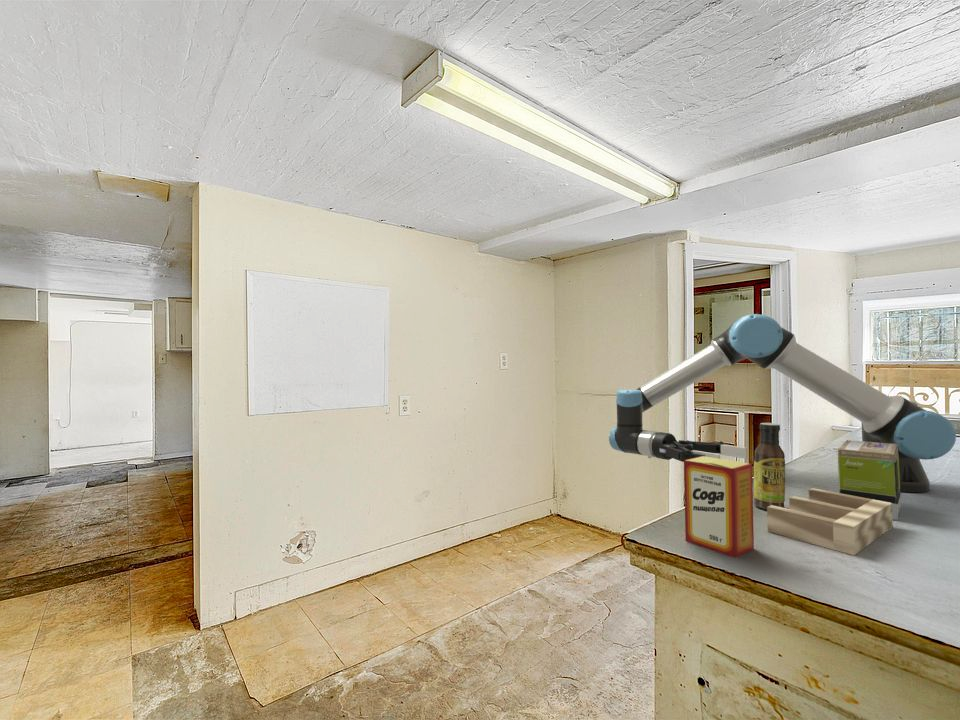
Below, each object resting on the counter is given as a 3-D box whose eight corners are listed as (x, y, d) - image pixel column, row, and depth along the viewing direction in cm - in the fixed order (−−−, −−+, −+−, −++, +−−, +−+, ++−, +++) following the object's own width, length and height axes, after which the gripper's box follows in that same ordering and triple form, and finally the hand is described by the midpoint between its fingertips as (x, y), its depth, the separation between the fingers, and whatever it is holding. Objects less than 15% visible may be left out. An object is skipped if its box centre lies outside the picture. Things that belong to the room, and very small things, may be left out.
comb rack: (812, 509, 104) (812, 488, 104) (892, 527, 92) (892, 502, 92) (767, 531, 91) (767, 506, 91) (854, 555, 79) (853, 526, 79)
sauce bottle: (763, 511, 103) (761, 425, 103) (748, 503, 109) (746, 422, 109) (792, 512, 102) (790, 425, 102) (776, 503, 108) (774, 421, 109)
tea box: (847, 497, 113) (845, 438, 113) (901, 505, 106) (900, 443, 106) (838, 511, 102) (836, 447, 103) (898, 521, 95) (896, 452, 96)
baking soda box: (685, 540, 87) (683, 458, 87) (703, 533, 90) (702, 454, 91) (736, 557, 79) (734, 466, 79) (753, 548, 82) (751, 462, 83)
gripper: (682, 452, 137) (757, 464, 119) (631, 463, 122) (707, 479, 105) (682, 428, 137) (756, 436, 119) (630, 436, 123) (706, 447, 105)
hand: (733, 456), depth 112 cm, fingers open, 13 cm apart
